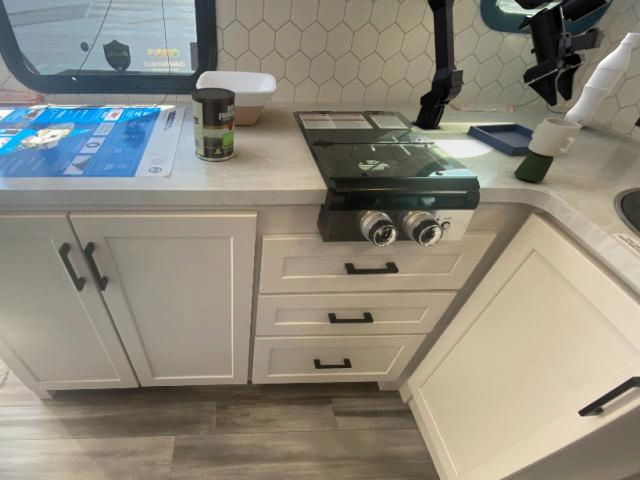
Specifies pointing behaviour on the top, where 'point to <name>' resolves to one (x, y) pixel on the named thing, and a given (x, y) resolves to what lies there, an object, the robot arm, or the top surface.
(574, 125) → the character mug
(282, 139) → the top surface
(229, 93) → the coffee can
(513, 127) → the shallow blue square tray
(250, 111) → the bowl
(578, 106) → the water bottle
